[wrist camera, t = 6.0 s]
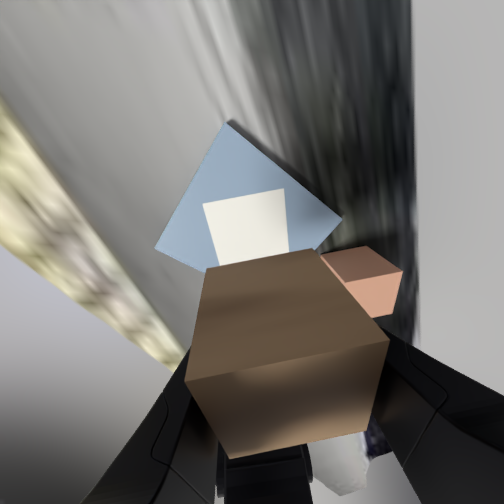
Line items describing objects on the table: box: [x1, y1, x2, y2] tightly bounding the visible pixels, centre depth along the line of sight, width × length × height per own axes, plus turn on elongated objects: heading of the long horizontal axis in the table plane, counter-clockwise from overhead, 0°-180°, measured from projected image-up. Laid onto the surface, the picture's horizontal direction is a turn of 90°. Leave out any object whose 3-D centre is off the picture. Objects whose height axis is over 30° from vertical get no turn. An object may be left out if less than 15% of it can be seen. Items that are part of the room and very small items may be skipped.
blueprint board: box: [154, 122, 343, 273], centre depth 18 cm, size 12×13×1 cm
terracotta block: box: [321, 246, 403, 318], centre depth 20 cm, size 5×5×5 cm
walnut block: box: [184, 248, 390, 459], centre depth 8 cm, size 5×5×5 cm
